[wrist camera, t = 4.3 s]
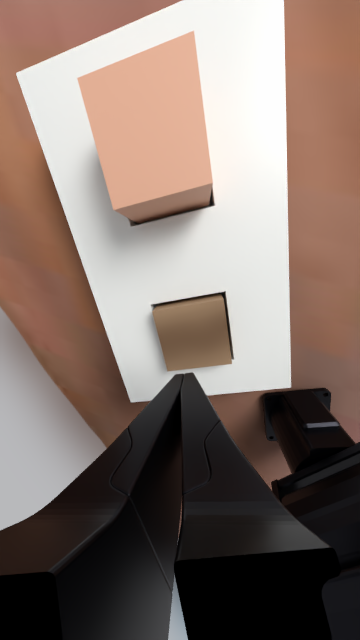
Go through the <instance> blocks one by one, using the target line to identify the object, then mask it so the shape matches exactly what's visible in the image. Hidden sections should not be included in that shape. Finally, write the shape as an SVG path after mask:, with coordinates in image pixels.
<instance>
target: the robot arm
mask: <svg viewBox="0 0 360 640" xmlns="http://www.w3.org/2000/svg"><path fill="white" fill-rule="evenodd" d="M324 393H325V394H324ZM267 398H269V399H267ZM330 402H331V393H330V392H329V390H328V389H326V388H319V389H308V390H297V391H286V392H275V393H266V394H264V395H263V405H264V418H265V431H266V437H267V439H268V440H269V441H278V443H279V445H280V447H281V450H282V452H283V454H284V457H285V459H286V461H287V464H288V466H289V468H290V471H291V473H292V474H290V475H288V476H286V477H284V478H282V479H280V480H277V479H276V480H274V481H272V482H271V485H272V491H271V489H270V488H269V487H268V485H267V484H266V483H265V482H264V480H263V479H262V478H261V476H260V475H259V474H258V473H257V471H256V470H255V469H254V467H253V466H252V465H251V464H250V462H249V461H248V460H247V458H246V457H245V456H244V455H243V453H242V452H241V450H240V449H239V448H238V446H237V445H236V444H235V442H234V441H233V439H232V438H231V436H230V434H229V433H228V431H227V430H226V428H225V426H224V425H223V423H222V421H221V420H220V418H219V416H218V414H217V413H216V411H215V409H214V407H213V406H212V404H211V402H210V401H209V399H208V397H207V395H206V394H205V392H204V390H203V388H202V387H201V385H200V383H199V382H198V380H197V378H196V376H195V375H194V373H193V372H190V373H185V374H183V373H182V374H175V375H174V376H173V377H172V379H171V380H170V381H169V382H168V383H167V384H166V385H165V386H164V387H163V388H162V389H161V391H160V392H159V393H158V394H157V395H156V396H155V397H154V398H153V399H152V400H151V402H150V403H149V404H148V405H147V406H146V407H145V408H144V409H143V410H142V411H141V413H140V414H139V415H138V416H137V417H136V418H135V419H134V420H133V421H132V422H131V424H130V425H129V426H128V428H126V429H125V430H124V431H123V432H122V433H121V434H120V436H119V437H118V438H117V439H116V440H115V441H114V442H113V443H112V444H111V445H110V446H109V447H108V448H107V449H106V450H105V451H104V452H103V453H102V454H101V455H100V456H99V457H98V458H97V459H96V460H95V461H94V462H93V463H92V464H91V465H90V466H89V467H88V468H87V469H85V470H84V471H83V472H82V473H81V474H80V475H79V476H78V477H77V478H76V479H75V480H74V481H73V482H72V483H71V484H70V485H68V486H67V487H66V488H65V489H64V490H63V491H62V492H61V493H60V494H59V495H58V496H57V497H56V498H55V499H54V500H52V501H51V502H50V503H49V504H48V505H46V506H45V507H44V508H42V509H41V510H40V511H38V512H37V513H35V514H34V515H32V516H30V517H29V518H27V519H25V520H23V521H21V522H19V523H17V524H14V525H12V526H10V527H7V528H5V529H3V530H1V531H0V640H168V633H169V622H170V613H171V603H172V590H173V582H174V573H175V578H176V583H177V588H178V593H179V597H180V602H181V607H182V612H183V617H184V621H185V627H186V631H187V636H188V640H360V442H359V443H355V442H354V441H353V440H352V439H351V437H350V436H349V435H348V434H347V433H346V431H345V430H344V429H343V428H342V427H341V425H340V423H339V422H338V421H337V419H336V418H335V417H334V416H333V415H332V414H331V412H330ZM181 501H182V522H181V529H180V534H179V540H178V531H179V521H180V511H181ZM177 541H178V545H177Z"/></svg>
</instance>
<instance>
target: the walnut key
mask: <svg viewBox="0 0 360 640" xmlns="http://www.w3.org/2000/svg"><path fill="white" fill-rule="evenodd" d="M152 313H153V317H154V321H155V325H156V329H157V333H158V337H159V341H160V344H161V348H162V352H163V356H164V360H165V364H166V368H167V372H168V371H176V370H185V369H193V368H202V367H210V366H219V365H227V364H232V359H231V351H230V344H229V336H228V328H227V321H226V313H225V305H224V299H223V297H222V295H221V294H220V292H219V293H213V294H207V295H202V296H196V297H191V298H185V299H179V300H174V301H168V302H163V303H159V304H158V305H157V306H156V307H155V309H154V310H153V311H152Z"/></svg>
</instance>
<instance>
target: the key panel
mask: <svg viewBox="0 0 360 640" xmlns="http://www.w3.org/2000/svg"><path fill="white" fill-rule="evenodd" d="M192 31H194V35H195V43H196V51H197V59H198V67H199V75H200V83H201V91H202V99H203V107H204V115H205V123H206V131H207V139H208V148H209V156H210V164H211V172H212V180H213V185H212V190H211V196H210V201H209V206H206V207H202V208H198V209H194V210H190V211H186V212H182V213H178V214H174V215H170V216H166V217H162V218H158V219H154V220H150V221H147V222H143V223H139V224H138V223H136V222H134V221H133V220H131V219H129V218H127V217H125V216H124V215H122V214H120V213H118V212H116V211H114V210H113V207H112V203H111V199H110V196H109V192H108V188H107V185H106V181H105V178H104V174H103V170H102V167H101V163H100V159H99V156H98V152H97V149H96V145H95V141H94V138H93V134H92V130H91V127H90V123H89V120H88V116H87V112H86V109H85V105H84V101H83V98H82V94H81V90H80V87H79V83H78V80H77V78H78V77H81V76H83V75H86V74H88V73H91V72H93V71H96V70H98V69H101V68H103V67H105V66H108V65H110V64H113V63H115V62H118V61H120V60H123V59H125V58H128V57H130V56H132V55H135V54H137V53H140V52H142V51H145V50H147V49H150V48H152V47H155V46H157V45H160V44H162V43H164V42H167V41H169V40H172V39H174V38H177V37H179V36H182V35H184V34H187V33H189V32H192ZM16 75H17V78H18V80H19V83H20V86H21V89H22V92H23V95H24V98H25V101H26V103H27V106H28V109H29V112H30V115H31V118H32V121H33V123H34V126H35V129H36V132H37V135H38V138H39V141H40V143H41V146H42V149H43V152H44V155H45V158H46V161H47V164H48V166H49V169H50V172H51V175H52V178H53V181H54V184H55V186H56V189H57V192H58V195H59V198H60V201H61V204H62V207H63V209H64V212H65V215H66V218H67V221H68V224H69V227H70V229H71V232H72V235H73V238H74V241H75V244H76V247H77V249H78V252H79V255H80V258H81V261H82V264H83V267H84V270H85V272H86V275H87V278H88V281H89V284H90V287H91V290H92V292H93V295H94V298H95V301H96V304H97V307H98V310H99V313H100V315H101V318H102V321H103V324H104V327H105V330H106V333H107V335H108V338H109V341H110V344H111V347H112V350H113V353H114V355H115V358H116V361H117V364H118V367H119V370H120V373H121V376H122V378H123V381H124V384H125V387H126V390H127V393H128V396H129V398H130V401H131V402H142V401H151V400H152V399H153V398H154V397H155V396H156V395H157V394H158V393H159V392H160V391H161V389H162V388H163V387H164V386H165V385H166V384H167V383H168V382H169V381H170V380H171V379H172V377H173V376H174V375H175V374H182V373H183V374H185V373H190V372H193V373H194V375H195V376H196V378H197V380H198V382H199V383H200V385H201V387H202V388H203V390H204V392H205V394H206V395H217V394H227V393H238V392H249V391H259V390H270V389H281V388H291V359H290V306H289V253H288V199H287V146H286V93H285V39H284V0H183V1H180V2H178V3H176V4H174V5H171V6H169V7H167V8H164V9H162V10H160V11H157V12H155V13H153V14H151V15H148V16H146V17H144V18H141V19H139V20H137V21H135V22H132V23H130V24H128V25H125V26H123V27H121V28H119V29H116V30H114V31H112V32H109V33H107V34H105V35H102V36H100V37H98V38H96V39H93V40H91V41H89V42H86V43H84V44H82V45H80V46H77V47H75V48H73V49H70V50H68V51H66V52H64V53H61V54H59V55H57V56H54V57H52V58H50V59H47V60H45V61H43V62H41V63H38V64H36V65H34V66H31V67H29V68H27V69H25V70H22V71H20V72H18V73H16ZM219 292H220V294H221V295H222V297H223V299H224V305H225V313H226V321H227V328H228V336H229V344H230V351H231V359H232V364H227V365H219V366H210V367H202V368H193V369H185V370H176V371H168V372H167V368H166V364H165V360H164V356H163V352H162V348H161V344H160V341H159V337H158V333H157V329H156V325H155V321H154V317H153V313H152V311H153V310H154V309H155V307H156V306H157V305H158V304H159V303H163V302H168V301H174V300H179V299H185V298H191V297H196V296H202V295H207V294H213V293H219Z"/></svg>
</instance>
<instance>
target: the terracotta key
mask: <svg viewBox="0 0 360 640" xmlns="http://www.w3.org/2000/svg"><path fill="white" fill-rule="evenodd" d="M77 80H78V83H79V87H80V90H81V94H82V98H83V101H84V105H85V109H86V112H87V116H88V120H89V123H90V127H91V130H92V134H93V138H94V141H95V145H96V149H97V152H98V156H99V159H100V163H101V167H102V170H103V174H104V178H105V181H106V185H107V188H108V192H109V196H110V199H111V203H112V207H113V210H114V211H116V212H118V213H120V214H122V215H124V216H125V217H127V218H129V219H131V220H133V221H134V222H136V223H138V224H139V223H143V222H147V221H150V220H154V219H158V218H162V217H166V216H170V215H174V214H178V213H182V212H186V211H190V210H194V209H198V208H202V207H206V206H209V201H210V196H211V190H212V185H213V180H212V172H211V164H210V156H209V148H208V139H207V131H206V123H205V115H204V107H203V99H202V91H201V83H200V75H199V67H198V59H197V51H196V43H195V35H194V31H192V32H189V33H187V34H184V35H182V36H179V37H177V38H174V39H172V40H169V41H167V42H164V43H162V44H160V45H157V46H155V47H152V48H150V49H147V50H145V51H142V52H140V53H137V54H135V55H132V56H130V57H128V58H125V59H123V60H120V61H118V62H115V63H113V64H110V65H108V66H105V67H103V68H101V69H98V70H96V71H93V72H91V73H88V74H86V75H83V76H81V77H78V78H77Z"/></svg>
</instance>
